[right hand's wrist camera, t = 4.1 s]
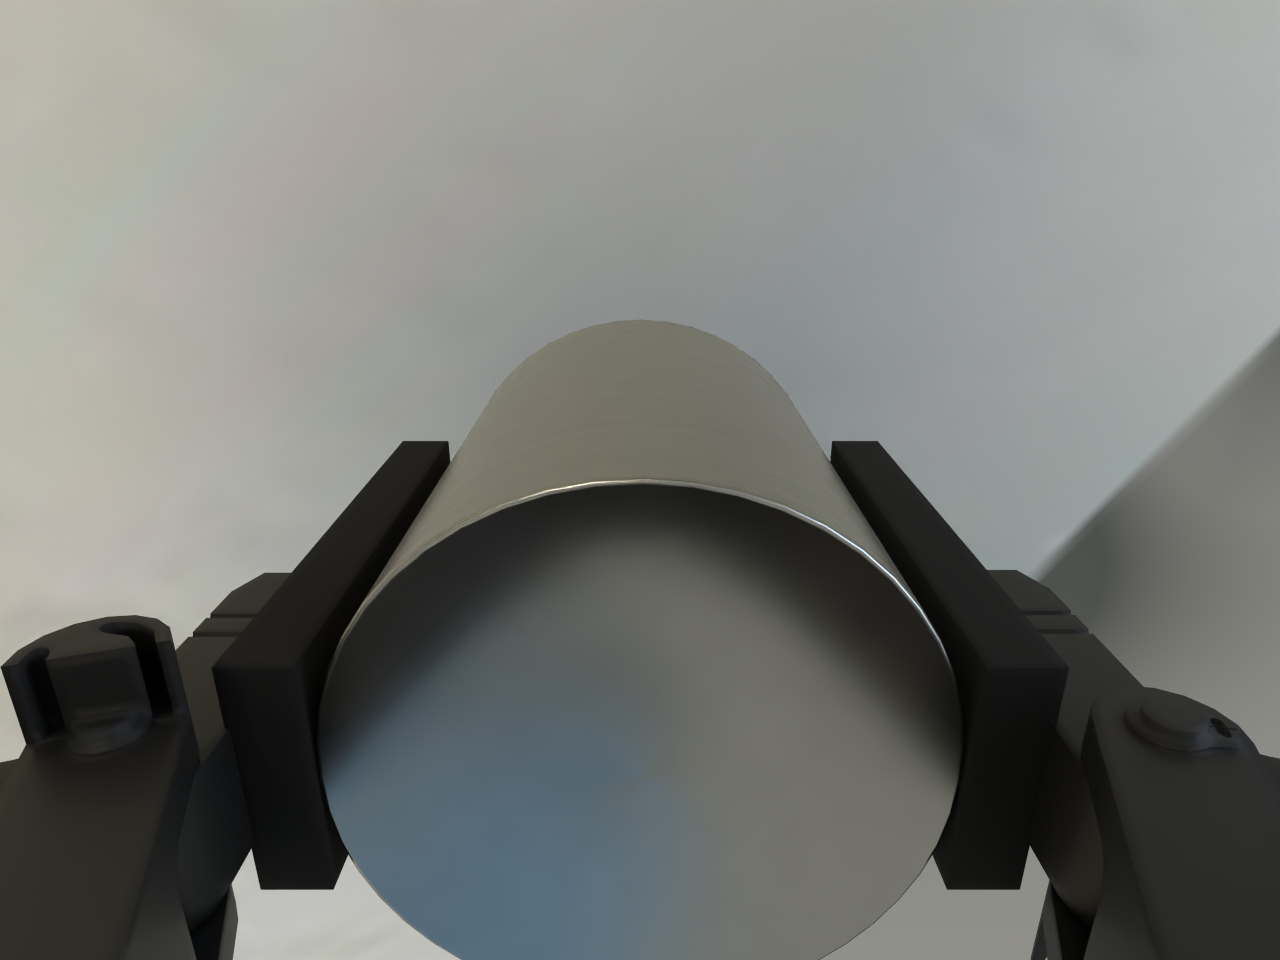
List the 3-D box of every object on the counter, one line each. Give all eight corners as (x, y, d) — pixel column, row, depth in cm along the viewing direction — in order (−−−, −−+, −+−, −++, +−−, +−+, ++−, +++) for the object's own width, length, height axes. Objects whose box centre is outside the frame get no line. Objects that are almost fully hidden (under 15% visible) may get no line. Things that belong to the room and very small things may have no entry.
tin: (609, 696, 17) (588, 1081, 10) (394, 461, 15) (174, 728, 8) (879, 524, 15) (1081, 828, 8) (677, 240, 13) (718, 327, 6)
